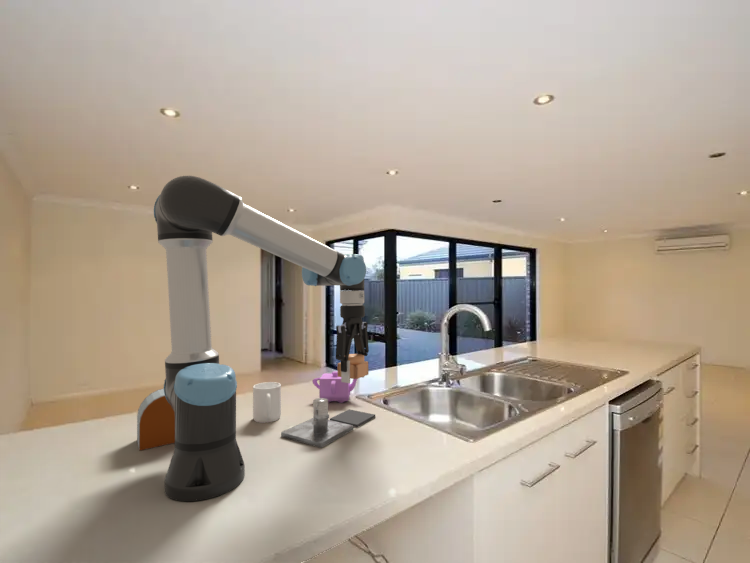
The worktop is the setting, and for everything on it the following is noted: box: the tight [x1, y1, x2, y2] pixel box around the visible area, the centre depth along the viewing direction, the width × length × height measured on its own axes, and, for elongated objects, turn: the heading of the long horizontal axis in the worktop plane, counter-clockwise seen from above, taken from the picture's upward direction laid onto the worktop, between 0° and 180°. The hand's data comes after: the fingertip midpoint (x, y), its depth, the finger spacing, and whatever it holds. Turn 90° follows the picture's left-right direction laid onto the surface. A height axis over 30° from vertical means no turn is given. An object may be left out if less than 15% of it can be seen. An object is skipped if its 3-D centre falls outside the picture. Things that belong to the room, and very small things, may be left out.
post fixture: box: [280, 398, 354, 449], centre depth 103 cm, size 14×14×9 cm
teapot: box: [312, 370, 358, 404], centre depth 134 cm, size 18×14×10 cm
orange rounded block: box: [136, 387, 175, 451], centre depth 101 cm, size 15×8×14 cm, turn 126°
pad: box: [329, 409, 376, 428], centre depth 114 cm, size 10×10×1 cm
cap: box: [337, 353, 369, 380], centre depth 115 cm, size 7×7×6 cm
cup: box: [252, 381, 282, 424], centre depth 114 cm, size 8×12×10 cm
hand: (353, 379), depth 114 cm, fingers closed on cap, 7 cm apart
